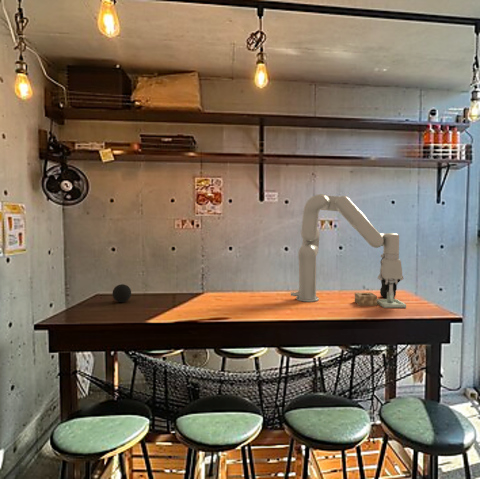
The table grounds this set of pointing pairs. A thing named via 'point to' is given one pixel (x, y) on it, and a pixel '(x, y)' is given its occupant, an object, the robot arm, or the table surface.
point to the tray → (395, 303)
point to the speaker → (121, 293)
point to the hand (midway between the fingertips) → (390, 291)
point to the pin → (390, 291)
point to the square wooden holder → (366, 299)
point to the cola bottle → (382, 291)
